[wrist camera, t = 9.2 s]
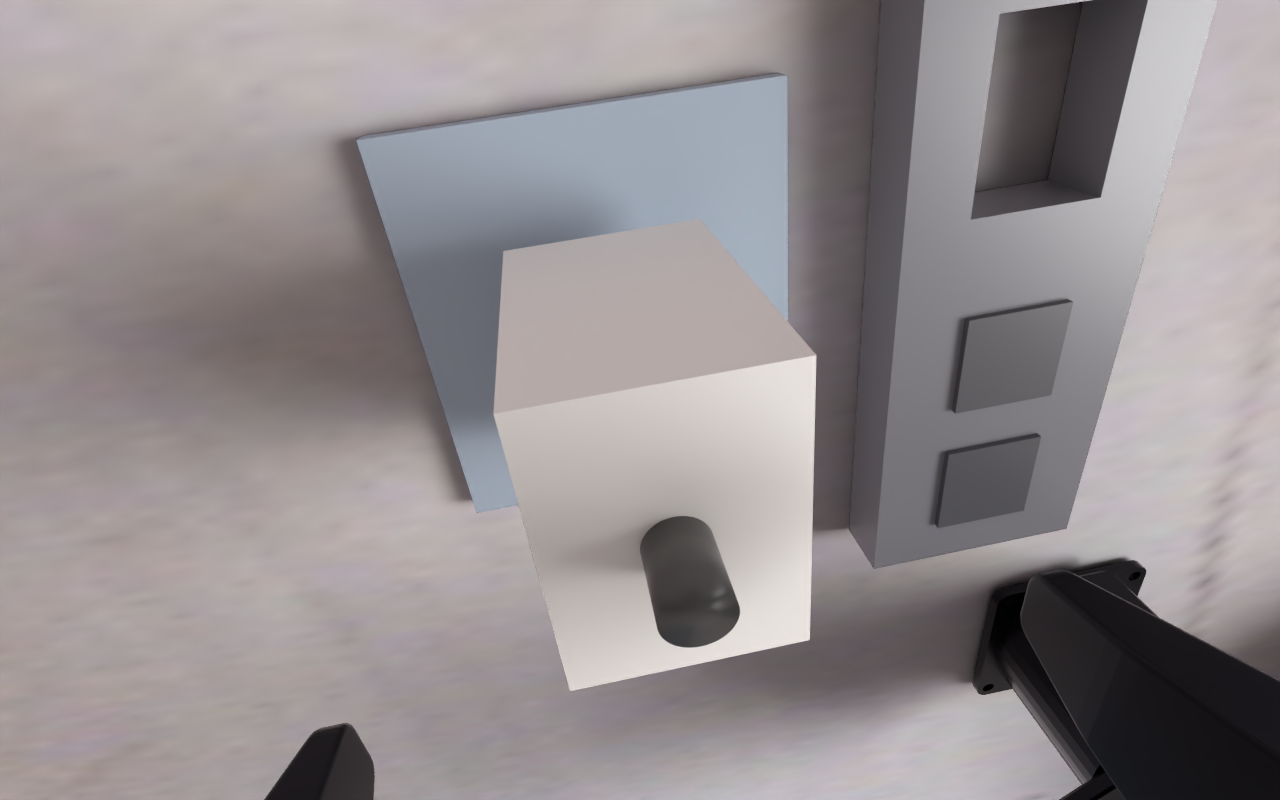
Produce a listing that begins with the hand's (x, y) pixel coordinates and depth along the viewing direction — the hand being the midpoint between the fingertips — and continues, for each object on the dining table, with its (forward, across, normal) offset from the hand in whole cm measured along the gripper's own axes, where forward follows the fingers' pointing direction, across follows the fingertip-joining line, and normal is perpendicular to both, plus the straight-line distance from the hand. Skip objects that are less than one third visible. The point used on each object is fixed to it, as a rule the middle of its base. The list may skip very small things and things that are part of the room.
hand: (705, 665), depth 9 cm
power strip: (+12, -11, -2) cm, 16 cm away
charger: (+11, 0, 0) cm, 11 cm away
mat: (+12, 0, 0) cm, 12 cm away
